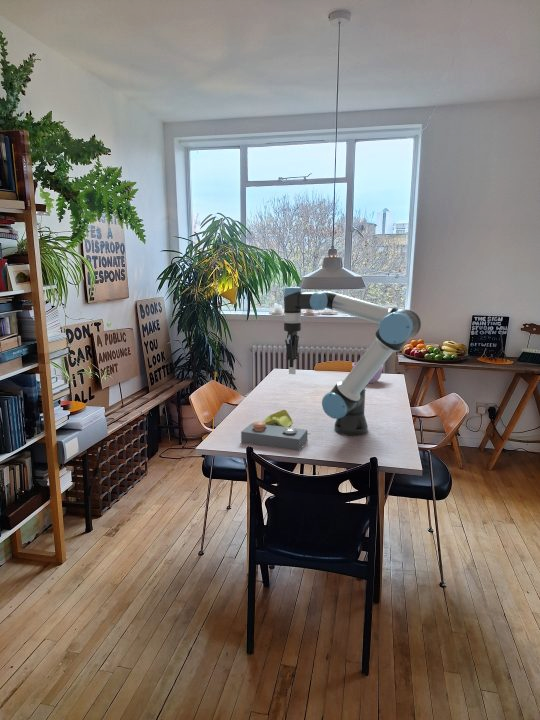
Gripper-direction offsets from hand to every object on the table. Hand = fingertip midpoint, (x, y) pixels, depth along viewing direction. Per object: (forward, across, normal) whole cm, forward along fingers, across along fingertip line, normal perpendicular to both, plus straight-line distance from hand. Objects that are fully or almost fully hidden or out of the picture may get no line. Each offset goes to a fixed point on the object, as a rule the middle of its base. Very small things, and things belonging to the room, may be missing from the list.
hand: (292, 373), depth 211 cm
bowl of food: (+27, -101, +18) cm, 106 cm away
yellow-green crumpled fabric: (+27, 0, -8) cm, 28 cm away
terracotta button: (+25, +18, -9) cm, 32 cm away
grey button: (+26, +18, +5) cm, 32 cm away
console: (+26, +18, -2) cm, 32 cm away
